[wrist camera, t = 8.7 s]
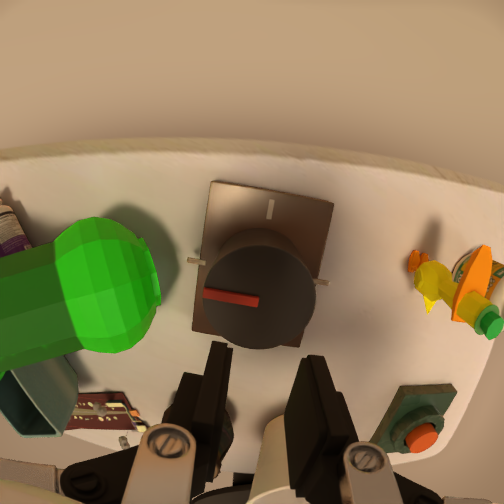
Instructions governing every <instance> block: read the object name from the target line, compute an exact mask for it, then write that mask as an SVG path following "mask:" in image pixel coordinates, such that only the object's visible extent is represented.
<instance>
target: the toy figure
mask: <svg viewBox="0 0 504 504" xmlns="http://www.w3.org/2000/svg"><path fill="white" fill-rule="evenodd" d="M491 270H492V255H491V248H490V247H488V246H486V245H482V246H481V247H479V248H478V249H477V250H476V251H474V252H473V253H472V254H471V257H470V259H469V261H468V263H467V265H466V268H465V270H464V272H463V275H462V277H461V280H460V282H459V283H456V282H453V281H452V273H451V272H450V271H449V270H448V269H447V268H446V267H445V266H444V265H443V264H441V263H439V262H437V261H435V260H433V261H429V259H428V254H426V253H422V254H421V256H420V255H419V251H416V250H413V252H412V253H411V255H410V257H409V263H408V272H414V271H415V276H414V285H415V288H416V289H417V290H418V291H419V292H420V293H421V294H423V297H424V302H425V306H426V311H427V314H428V313H429V311H430V310H431V308H432V307H433V305H434V304H435V302H436V301H437V300H440V299H443V300H444V301H445V302H446V303H447V305H448V306H449V307H450V308H451V309H452V317H451V320H452V321H457V322H464V323H465V322H466V323H468V324H469V325H470V326H471V327H472V328H474V329H475V332H476V333H477V334H479V335H483V334H485V336H486V337H487V338H488V339H489V340H491V339H493V338H496V337H497V336H498V335H499V333H500V332H501V331H502V329H503V326H504V320H503V319H502V317H500V316H499V308H498V307H497V306H496V305H493V304H492V302H491V301H489V300H488V299H486V298H485V294H486V291H487V287H488V284H489V280H490V276H491Z"/></svg>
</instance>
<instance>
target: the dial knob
mask: <svg viewBox="0 0 504 504" xmlns="http://www.w3.org/2000/svg"><path fill="white" fill-rule="evenodd" d="M202 300H203V307H204V311H205V314H206V317H207V319H208V321H209V322H210V324H211V325H212V327H213V328H214V329H215V330H216V331H217V333H218V334H220V335H221V336H222V337H223V338H224V339H226V340H228V341H229V342H231V343H233V344H235V345H238V346H241V347H244V348H249V349H269V348H274V347H278V346H280V345H283V344H285V343H287V342H289V341H291V340H292V339H294V338H295V337H296V336H297V335H299V334H300V333H301V332H302V331H303V330H304V328H305V327H306V326H307V324H308V323H309V321H310V319H311V317H312V315H313V312H314V309H315V304H316V288H315V284H314V281H313V278H312V276H311V274H310V272H309V270H308V268H307V266H306V264H305V262H304V260H303V259H302V257H301V255H300V253H299V251H298V249H297V248H296V246H295V245H294V244H293V243H292V242H291V241H290V240H289V239H288V238H287V237H286V236H284V235H282V234H281V233H279V232H276V231H274V230H270V229H265V228H253V229H248V230H244V231H241V232H239V233H237V234H235V235H234V236H232V237H231V238H230V239H228V240H227V241H226V243H225V244H224V245H223V246H222V248H221V249H220V251H219V253H218V255H217V257H216V259H215V261H214V263H213V265H212V267H211V269H210V271H209V273H208V275H207V277H206V280H205V283H204V287H203V294H202Z"/></svg>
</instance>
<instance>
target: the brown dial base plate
mask: <svg viewBox="0 0 504 504" xmlns="http://www.w3.org/2000/svg"><path fill="white" fill-rule="evenodd" d="M333 207H334V203H332V202H329V201H326V200H321V199H316V198H311V197H306V196H301V195H296V194H291V193H285V192H280V191H274V190H269V189H263V188H257V187H252V186H246V185H240V184H233V183H227V182H221V181H211V184H210V190H209V197H208V203H207V210H206V217H205V224H204V231H203V238H202V245H201V253H200V259H195V258H189V257H188V258H187V262H188V263H194V264H199V269H198V277H197V285H196V294H195V303H194V312H193V322H192V331H195V332H200V333H206V334H211V335H217V336H221V335H220V334H218V333H217V331H216V330H215V329H214V328H213V327H212V325H211V324H210V322H209V321H208V319H207V317H206V314H205V311H204V307H203V300H202V294H203V287H204V283H205V280H206V277H207V275H208V273H209V271H210V269H211V267H212V265H213V263H214V261H215V259H216V257H217V255H218V253H219V251H220V249H221V248H222V246H223V245H224V244H225V243H226V241H227V240H228V239H230V238H231V237H232V236H234V235H235V234H237V233H239V232H241V231H244V230H248V229H253V228H265V229H270V230H274V231H276V232H279V233H281V234H282V235H284V236H286V237H287V238H288V239H289V240H290V241H291V242H292V243H293V244H294V245H295V246H296V248H297V249H298V251H299V253H300V255H301V257H302V259H303V260H304V262H305V264H306V266H307V268H308V270H309V272H310V274H311V276H312V278H313V281H314V284H315V287H316V284H320V285H326V286H328V285H329V281H327V280H320V279H318V275H319V271H320V266H321V262H322V258H323V254H324V249H325V245H326V240H327V236H328V231H329V226H330V221H331V217H332V212H333ZM304 329H305V328H304ZM303 333H304V330H303V331H302V332H301V333H300V334H299V335H297V336H296V337H295V338H294V339H292V340H291V341H289V342H287V343H285V344H283V345H282V346H290V347H298V348H299V347H300V344H301V340H302V337H303Z"/></svg>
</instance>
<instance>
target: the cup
mask: <svg viewBox="0 0 504 504" xmlns="http://www.w3.org/2000/svg"><path fill="white" fill-rule="evenodd" d="M246 504H310V503H309V502H307V501H306V500H305V498H296V494H295V490H291V489H290V484H289V472H288V461H287V450H286V439H285V428H284V415H281V416H278V417H276V418H275V419H273V420H272V421H270V422H269V423H268V425H267V426H266V428H265V431H264V435H263V440H262V445H261V450H260V454H259V458H258V463H257V467H256V472H255V476H254V479H253V484H252V488H251V492H250V496H249V500H248V501H247V503H246Z"/></svg>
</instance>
